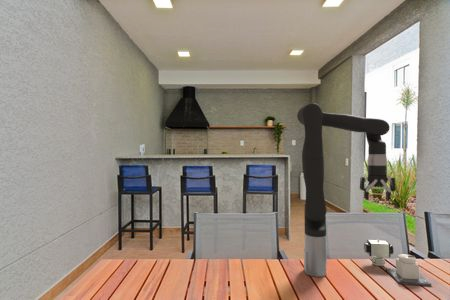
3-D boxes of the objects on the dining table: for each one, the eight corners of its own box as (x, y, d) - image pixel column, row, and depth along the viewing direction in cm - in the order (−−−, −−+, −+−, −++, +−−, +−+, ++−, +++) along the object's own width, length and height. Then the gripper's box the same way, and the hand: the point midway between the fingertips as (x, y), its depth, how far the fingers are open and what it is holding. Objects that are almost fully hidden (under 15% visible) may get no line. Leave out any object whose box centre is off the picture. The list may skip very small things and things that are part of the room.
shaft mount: (398, 283, 113) (398, 269, 113) (385, 270, 126) (385, 257, 126) (431, 286, 111) (431, 271, 111) (414, 272, 124) (414, 258, 124)
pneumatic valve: (393, 267, 129) (393, 242, 129) (366, 265, 131) (366, 240, 131) (389, 263, 134) (389, 238, 134) (363, 261, 137) (363, 236, 137)
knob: (402, 278, 116) (402, 257, 116) (395, 271, 122) (395, 252, 122) (418, 279, 115) (418, 258, 115) (411, 272, 121) (411, 253, 121)
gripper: (363, 164, 123) (363, 201, 123) (398, 164, 121) (398, 202, 121) (357, 163, 130) (358, 198, 130) (390, 164, 128) (390, 199, 128)
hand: (377, 200), depth 125 cm, fingers open, 8 cm apart
